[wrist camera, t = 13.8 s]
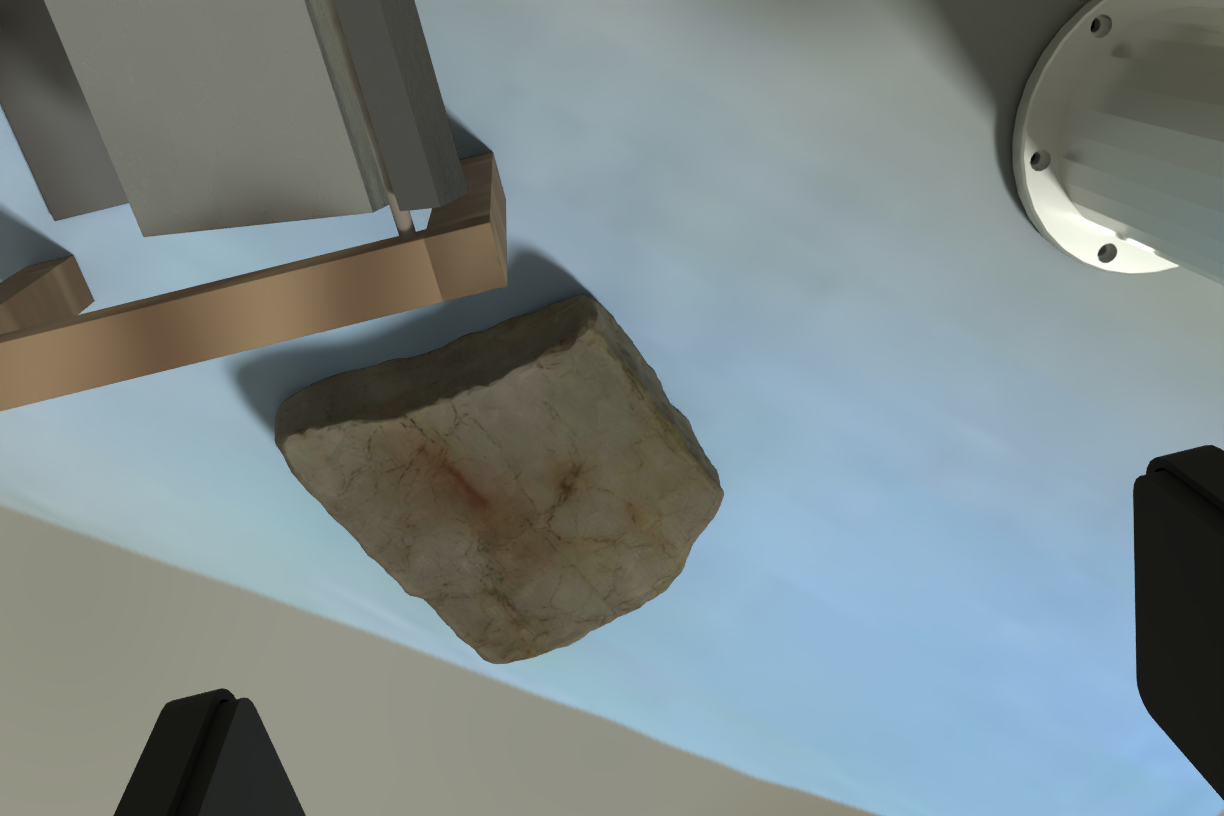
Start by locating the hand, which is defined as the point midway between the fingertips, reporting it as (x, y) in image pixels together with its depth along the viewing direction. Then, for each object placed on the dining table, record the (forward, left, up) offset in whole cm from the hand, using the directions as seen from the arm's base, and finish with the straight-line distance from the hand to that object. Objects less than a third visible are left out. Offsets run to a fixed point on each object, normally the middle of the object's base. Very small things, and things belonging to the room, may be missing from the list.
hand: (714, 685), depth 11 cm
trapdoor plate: (+8, -9, -25) cm, 28 cm away
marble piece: (+5, +13, -35) cm, 38 cm away
